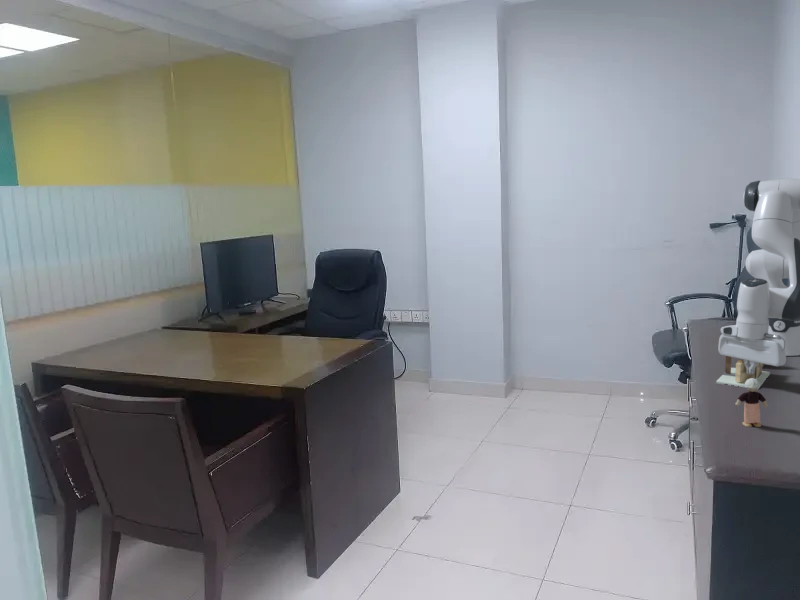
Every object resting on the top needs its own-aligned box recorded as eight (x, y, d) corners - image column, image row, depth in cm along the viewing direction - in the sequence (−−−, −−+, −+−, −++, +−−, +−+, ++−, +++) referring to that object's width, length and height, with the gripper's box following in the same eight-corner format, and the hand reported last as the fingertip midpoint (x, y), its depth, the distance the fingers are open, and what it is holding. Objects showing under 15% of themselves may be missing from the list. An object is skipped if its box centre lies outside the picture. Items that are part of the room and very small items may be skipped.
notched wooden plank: (749, 376, 198) (750, 356, 196) (754, 378, 196) (755, 357, 195) (735, 381, 194) (736, 360, 193) (739, 382, 192) (740, 361, 191)
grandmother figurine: (759, 421, 162) (762, 375, 160) (768, 426, 158) (771, 379, 156) (731, 423, 162) (733, 377, 160) (739, 428, 158) (742, 381, 156)
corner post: (725, 372, 205) (726, 349, 204) (731, 372, 204) (732, 349, 203) (724, 373, 204) (725, 350, 203) (730, 374, 203) (731, 350, 202)
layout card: (730, 368, 211) (730, 367, 211) (770, 373, 203) (770, 371, 203) (715, 383, 196) (715, 381, 196) (758, 389, 188) (758, 387, 188)
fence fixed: (756, 371, 205) (757, 350, 203) (761, 372, 204) (762, 350, 202) (750, 378, 197) (751, 356, 196) (756, 378, 196) (757, 356, 195)
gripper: (792, 335, 182) (789, 380, 184) (728, 325, 200) (727, 365, 202) (779, 337, 179) (776, 383, 181) (716, 327, 197) (714, 368, 199)
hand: (750, 374), depth 192 cm, fingers closed
